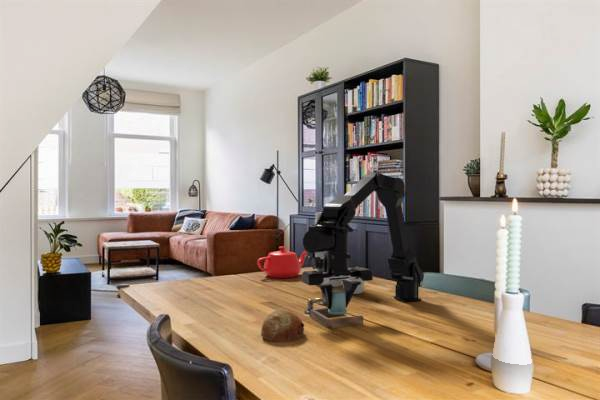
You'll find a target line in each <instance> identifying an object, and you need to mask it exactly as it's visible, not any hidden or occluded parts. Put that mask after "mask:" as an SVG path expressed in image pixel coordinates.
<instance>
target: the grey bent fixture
mask: <svg viewBox="0 0 600 400" xmlns="http://www.w3.org/2000/svg"><path fill="white" fill-rule="evenodd" d="M314 304H318V305H320V306H327V304H326V301H325V299H324V296H323V293H322V292H321V297H318V298H317V297H315V298H309V299H308V300H307V309H304V311H303V313H304V314H306V315H309V309H314Z"/></svg>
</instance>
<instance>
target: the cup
mask: <svg viewBox="0 0 600 400" xmlns="http://www.w3.org/2000/svg"><path fill="white" fill-rule="evenodd" d="M351 268H352V267H348V269H349V270H351ZM343 276H344V275H343ZM359 282H361V284H360V285H358V286H357V288H356V290H355V292H354V293H353V295H359V294H362V293H363V292H364V289H365V281H362V280H361V279H360V278H359ZM342 286H343V289H344V285H343V284H342Z"/></svg>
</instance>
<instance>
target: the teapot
mask: <svg viewBox="0 0 600 400" xmlns="http://www.w3.org/2000/svg"><path fill="white" fill-rule="evenodd" d="M278 248H279V250H277V251H271V252H269V253H268V255H267V256H264V257H259V258H258V259H257V262H256V264H257V266H258V268H259V269H260V270H261V271H263V272H264V273H265V274H266V275H267V276H268V277H270V278H273V279H290V278H291V279H292V278H294V277H296V276H298V275H299V274H300V273H301V270H302V267H303V265H304V262H305V258H306V255H307V254H308V252H307V251H306V250H305V251H302V254H301V255H300V257H298V255H297V252H294V251H290V250H289V251H287V250H285V249H286V246H283V245H282V246H279V247H278ZM262 261H264V263H263V264H264V265H262V263H261V262H262Z"/></svg>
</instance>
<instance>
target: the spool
mask: <svg viewBox="0 0 600 400" xmlns="http://www.w3.org/2000/svg"><path fill="white" fill-rule="evenodd" d="M328 313H329V314H334V315H333V316H340V315H341V316H342V315H346V314H347V313H348V310H347V308H346V292H345V291H344V289H343V290H341V289H332V305H331V309H328Z"/></svg>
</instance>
